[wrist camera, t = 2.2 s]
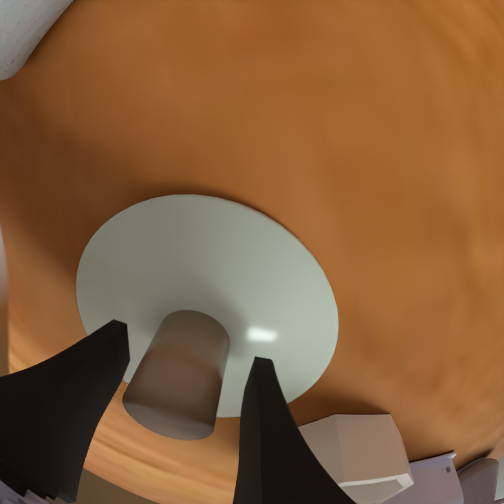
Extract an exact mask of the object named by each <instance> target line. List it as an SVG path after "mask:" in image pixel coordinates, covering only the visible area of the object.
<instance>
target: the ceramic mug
mask: <svg viewBox="0 0 504 504" xmlns="http://www.w3.org/2000/svg"><path fill="white" fill-rule="evenodd" d="M73 1H74V0H0V81H1V80H5V79H8V78H10V77H13V76H14V75H15V74H16V73H18V71H19V70H20V69H21V68H22V67H23V66H24V64H25V62H26V61H27V59H28V58H29V56H30V55H31V53H32V52H33V50H34V49H35V47H36V46H37V44H38V43H39V42H40V40H41V39H42V38H43V36H44V35H45V34H46V33H47V31H48V30H49V29H50V28H51V26H52V25H53V24H54V23H55V21H56V20H57V19H58V18H59V17H60V15H61V14H62V13H63V12H64V11H65V10H66V8H67V7H68V6H69V5H70V4H71V3H72V2H73Z"/></svg>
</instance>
